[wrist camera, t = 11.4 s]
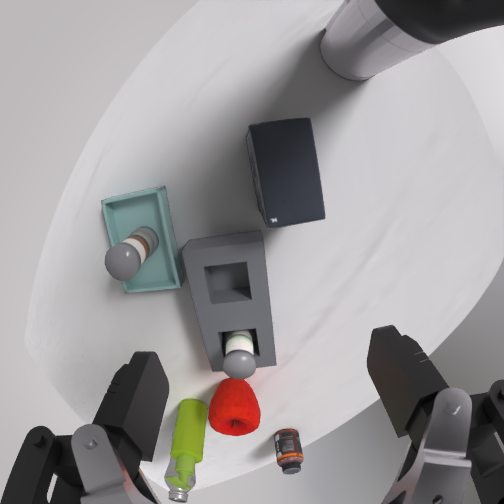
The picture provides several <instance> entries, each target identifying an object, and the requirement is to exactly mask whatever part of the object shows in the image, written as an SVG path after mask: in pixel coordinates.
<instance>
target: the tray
mask: <svg viewBox="0 0 504 504" xmlns="http://www.w3.org/2000/svg"><path fill="white" fill-rule="evenodd" d="M101 203H102V208H103V213H104V217H105V222H106V226H107V231H108V235H109V239H110V243H111V247H113V246H114V245H116V244H117V243H121V242H122V241H123V240H124V239H126V238H127V237H128V236H130V234H131V233H132V232H133V231H134V230H136V229H137V228H139V227H142V226H147V227H150V228H152V229H153V230H154V231H155V232H156V233H157V235H158V238H159V245H158V248H157V249H156V251H155V252H154V253H153V254H152V255H151V256H150V257H148V258H147V259H146V261H145V262H144V263H143V264H142V265H141V267H140V269H139V271H138V272H137V273H136V274H135V275H134V277H133V278H131V279H130V280H127V281H122V285H123V288H124V291H125V293H134V292H145V291H155V290H165V289H175V288H181V286H182V284H183V282H184V277H183V273H182V269H181V264H180V260H179V255H178V251H177V246H176V241H175V236H174V232H173V226H172V221H171V216H170V211H169V205H168V200H167V194H166V188H165V186H162V187H157V188H152V189H147V190H142V191H137V192H133V193H128V194H124V195H120V196H115V197H111V198H108V199H105V200H102V201H101Z"/></svg>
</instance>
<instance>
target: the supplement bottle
mask: <svg viewBox="0 0 504 504" xmlns="http://www.w3.org/2000/svg"><path fill="white" fill-rule="evenodd" d="M274 440H275V448H276V456H277V463H278V465H279V466H280V467H282V470H283V473H284V474H295V473H298V472H300V471H301V466H300V464H301V463H302V462H303V454H302V448H301V443H300V438H299V433H298V431H297V430H294V429H284V430H281V431H279V432H277V433H276V434H275V436H274Z"/></svg>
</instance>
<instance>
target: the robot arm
mask: <svg viewBox="0 0 504 504" xmlns="http://www.w3.org/2000/svg"><path fill="white" fill-rule="evenodd" d="M501 25H504V0H345V1H344V2H343V4H342V5H341V6H340V8H339V9H338V10H337V12H336V13H335V14H334V16H333V17H332V19H331V20H330V21H329V23H328V24H327V26H326V27H325V29H326V33H325V35H324V36H323V37H322V40H321V43H320V50H321V54H322V57H323V59H324V61H325V62H326V64H327V65H328V66H329V67H330V68H331V69H332V70H333V71H334V72H336V73H337V74H338V75H340V76H342V77H344V78H347V79H349V80H355V81H362V80H366V79H369V78H370V77H373V76H375V75H376V74H378V73H380V72H382V71H384V70H386V69H388V68H390V67H392V66H394V65H396V64H398V63H400V62H402V61H404V60H406V59H408V58H410V57H412V56H414V55H417V54H419V53H421V52H423V51H425V50H427V49H430V48H432V47H434V46H436V45H439V44H441V43H443V42H446V41H448V40H450V39H454V38H457V37H460V36H463V35H466V34H468V33H471V32H475V31H478V30H482V29H486V28H491V27H495V26H501ZM367 368H368V372H369V375H370V377H371V379H372V381H373V383H374V385H375V387H376V389H377V392H378V394H379V396H380V398H381V400H382V402H383V405H384V407H385V409H386V411H387V413H388V416H389V418H390V420H391V422H392V425H393V427H394V429H395V431H396V434H397V436H398V438H400V437H402V436H405V435H408V434H409V436H410V439H411V440H410V442H409V444H408V447H407V450H406V454H405V456H404V458H403V461H402V464H401V466H400V469H399V471H398V474H397V476H396V479H395V481H394V483H393V485H392V487H391V489H390V490H389V492H388V493H387V495H386V496H385V498H384V500H383V501H382V503H381V504H462V502H463V499H464V495H465V492H466V488H467V484H468V480H469V475H470V474H471V476H472V479H473V481H474V484H475V487H476V490H477V493H478V496H479V499H480V501H481V504H504V454H503V451H502V449H501V448H500V445H499V443H498V441H497V439H496V437H495V435H494V433H495V432H496V431H497V433H498V435H499V437H500V439H501V441H502V443H503V444H504V380H498V381H496V382H495V383H493V385H492V386H491V388H490V389H489V391H488V392H487V393H481V394H475V395H468V394H467V393H466V392H465V391H463V390H462V389H459V388H453V387H452V388H450V387H449V386H448V385H447V383H446V382H445V380H444V379H443V378H442V376H441V375H440V373H439V372H438V370H437V369H436V367H435V366H434V365H433V363H432V362H431V361H430V360H429V359H428V356H427V355H426V354H425V352H424V353H423V350H422V348H421V347H420V346H419V344H418V343H417V342H416V341H415V340H413V339H412V338H410V337H409V336H407V335H403V336H401V334H400V333H399V332H398V330H397V329H396V328H395V326H393V325H389V326H384V327H380V328H375V329H373V331H372V334H371V340H370V346H369V351H368V356H367ZM168 395H169V382H168V379H167V377H166V374H165V372H164V370H163V367H162V365H161V363H160V360H159V358H158V355H157V354H156V353H155V352H139V351H137V352H135V353H134V354H133V356H132V358H131V361H130V363H129V364H124V365H123V366H122V367H121V368H120V369H119V370H118V371H117V372H116V373H115V375H114V377H113V380H112V382H111V385H110V386H109V388H108V390H107V393H106V394H105V396H104V398H103V401H102V403H101V405H100V407H99V409H98V411H97V414H96V416H95V418H94V420H93V422H92V424H87V425H84V426H82V427H80V428H78V429H77V430H76V431H75V433H74V434H73V435H63V436H55V435H54V434H53V433H52V432H51V431H50V429H48V428H47V427H45V426H37V427H35V428H33V429H32V430H30V431H29V433H28V434H27V436H26V438H25V440H24V443H23V444H22V447H21V449H20V451H19V454H18V456H17V458H16V461H15V463H14V466H13V468H12V471H11V474H10V476H9V479H8V482H7V484H6V487H5V490H4V493H3V496H2V499H1V503H0V504H161V502H160V501H159V499H158V498H157V496H156V494H155V493H154V491H153V490H152V488H151V486H150V485H149V483H148V481H147V479H146V478H145V476H144V474H143V472H142V471H141V469H140V468H139V466H140V462H141V460H142V461H149V462H152V459H153V454H154V450H155V446H156V442H157V438H158V434H159V430H160V426H161V422H162V418H163V414H164V410H165V406H166V402H167V399H168ZM53 473H54V474H55V475H57V476H58V477H57V480H56V484H55V487H54V490H53V493H52V497H51V501H50V503H48V501H47V492H48V489H49V486H50V482H51V479H52V476H53Z"/></svg>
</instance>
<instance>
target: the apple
mask: <svg viewBox="0 0 504 504" xmlns="http://www.w3.org/2000/svg"><path fill="white" fill-rule="evenodd" d="M260 415H261V414H260V408H259V405H258V401H257V399H256V396H255V394H254V392H253V390H252V388H251V387H250V385H249V384H248V383H247V382H246V381H245V380H244V379H234V378H229V379H226V380H224V381H223V382H222V383H221V384H220V385H219V387H218V388H217V390H216V392H215V394H214V396H213V398H212V400H211V403H210V407H209V416H208V419H209V422H210V425H211V427H212V428H213V429H214V430H215V431H217V432H219V433H222V434H225V435H232V436H240V435H245V434H248V433H251V432H253V431H254V430H256V429H257V428H258V426H259V424H260Z"/></svg>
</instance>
